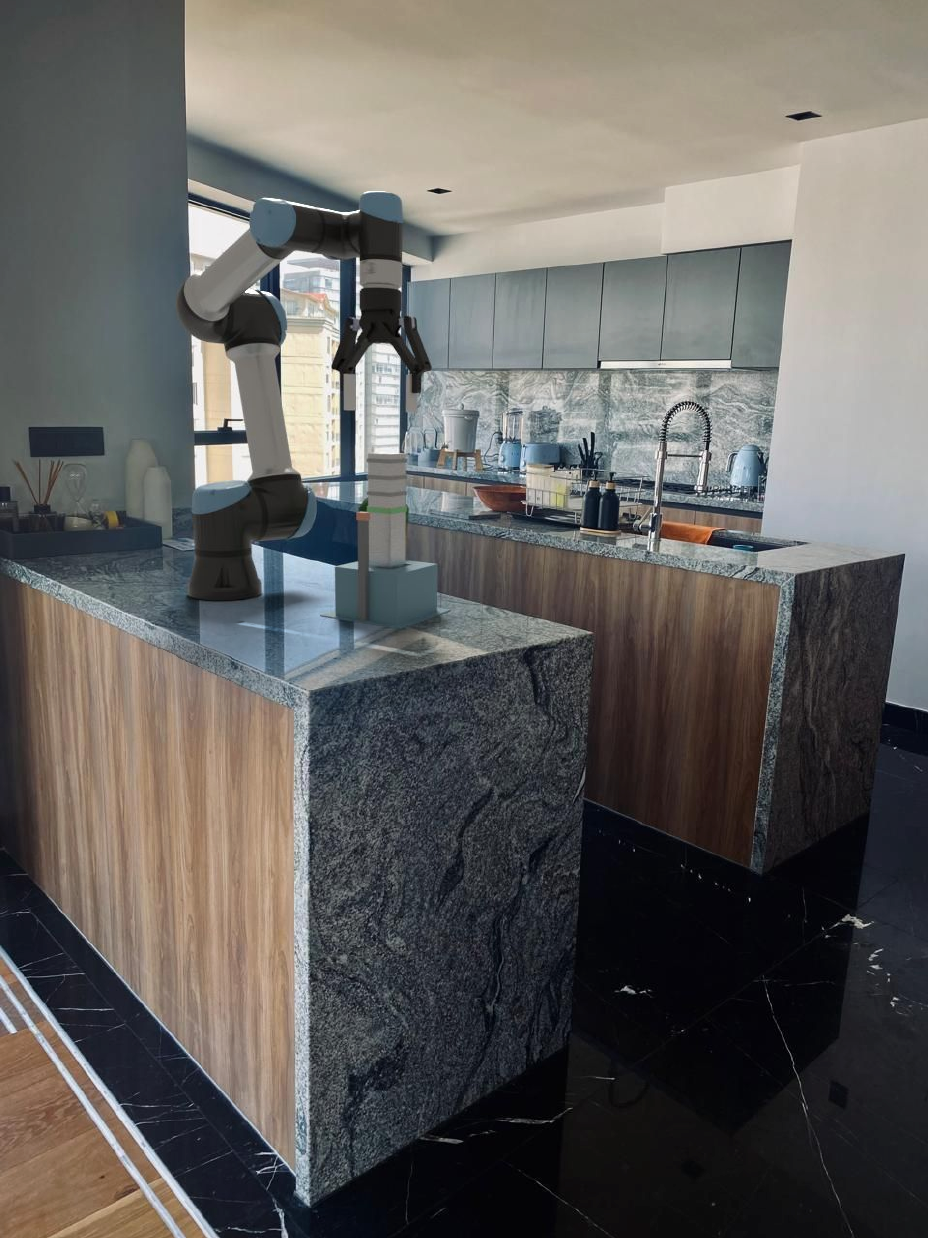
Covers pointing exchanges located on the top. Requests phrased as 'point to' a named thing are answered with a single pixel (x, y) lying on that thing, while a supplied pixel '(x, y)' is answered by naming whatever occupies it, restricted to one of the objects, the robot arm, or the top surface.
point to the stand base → (384, 589)
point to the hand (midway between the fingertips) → (380, 411)
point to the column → (387, 509)
